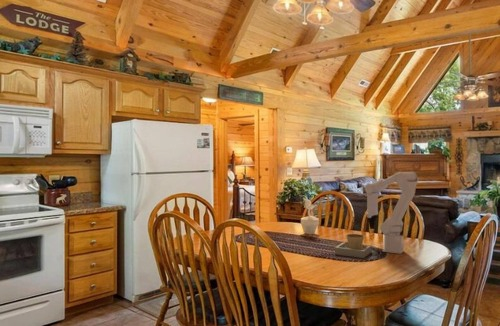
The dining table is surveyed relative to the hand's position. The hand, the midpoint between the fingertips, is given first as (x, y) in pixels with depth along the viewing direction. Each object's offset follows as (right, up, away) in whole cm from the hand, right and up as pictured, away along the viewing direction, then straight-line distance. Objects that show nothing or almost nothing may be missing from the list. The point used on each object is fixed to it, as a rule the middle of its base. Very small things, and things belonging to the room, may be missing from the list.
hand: (372, 228), depth 213 cm
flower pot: (-14, -10, -14) cm, 22 cm away
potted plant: (-30, -9, +33) cm, 46 cm away
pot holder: (-15, -10, -16) cm, 24 cm away
